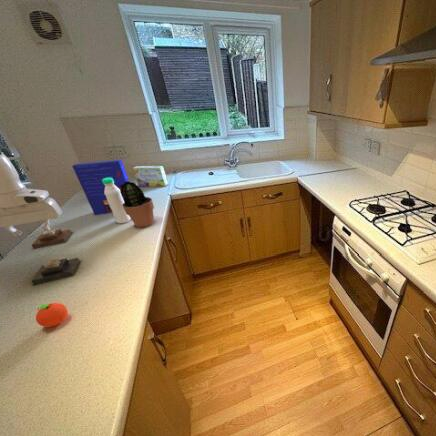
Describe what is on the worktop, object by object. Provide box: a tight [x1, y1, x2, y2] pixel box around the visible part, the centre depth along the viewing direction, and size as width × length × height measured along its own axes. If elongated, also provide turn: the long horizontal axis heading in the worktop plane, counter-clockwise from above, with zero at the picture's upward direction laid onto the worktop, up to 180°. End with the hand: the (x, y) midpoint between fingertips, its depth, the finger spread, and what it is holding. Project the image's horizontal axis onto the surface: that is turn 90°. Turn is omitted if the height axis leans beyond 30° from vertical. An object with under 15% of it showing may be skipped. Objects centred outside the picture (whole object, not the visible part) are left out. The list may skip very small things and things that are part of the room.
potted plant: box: [121, 181, 155, 228], centre depth 126 cm, size 14×14×25 cm
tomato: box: [35, 302, 68, 328], centre depth 74 cm, size 8×7×7 cm
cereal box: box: [72, 158, 130, 216], centre depth 142 cm, size 22×6×30 cm, turn 111°
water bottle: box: [102, 178, 132, 224], centre depth 130 cm, size 7×7×25 cm
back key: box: [42, 228, 57, 236], centre depth 116 cm, size 4×4×2 cm
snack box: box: [132, 165, 169, 187], centre depth 183 cm, size 21×6×15 cm, turn 88°
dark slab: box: [30, 257, 81, 286], centre depth 96 cm, size 12×10×4 cm
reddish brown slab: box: [31, 228, 73, 250], centre depth 118 cm, size 12×10×4 cm
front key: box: [44, 258, 61, 269], centre depth 95 cm, size 4×4×2 cm
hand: (33, 232), depth 88 cm, fingers open, 7 cm apart
